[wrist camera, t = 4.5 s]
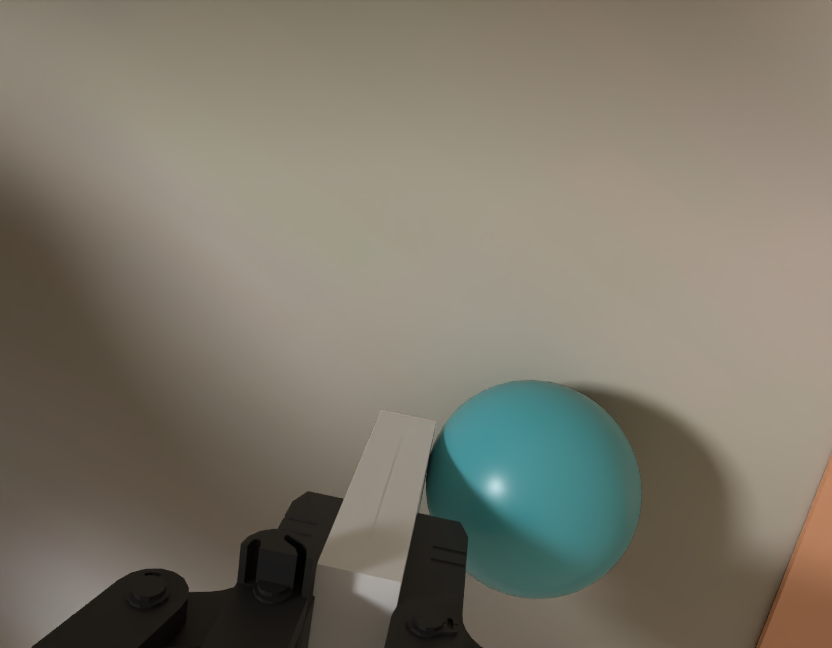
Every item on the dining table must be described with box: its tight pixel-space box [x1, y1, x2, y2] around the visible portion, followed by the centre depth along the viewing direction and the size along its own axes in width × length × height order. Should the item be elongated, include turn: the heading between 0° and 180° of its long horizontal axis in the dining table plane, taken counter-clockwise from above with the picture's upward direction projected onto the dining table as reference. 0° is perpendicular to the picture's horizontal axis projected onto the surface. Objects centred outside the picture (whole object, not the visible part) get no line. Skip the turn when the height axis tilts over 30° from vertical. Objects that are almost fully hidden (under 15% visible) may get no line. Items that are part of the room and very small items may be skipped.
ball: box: [426, 380, 642, 599], centre depth 18 cm, size 6×6×6 cm
